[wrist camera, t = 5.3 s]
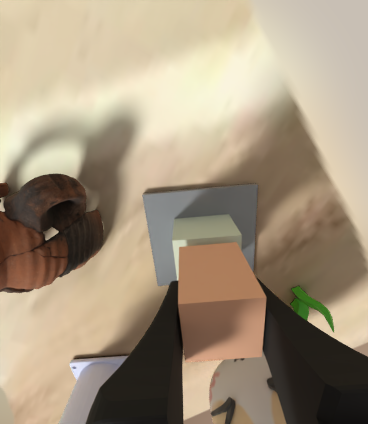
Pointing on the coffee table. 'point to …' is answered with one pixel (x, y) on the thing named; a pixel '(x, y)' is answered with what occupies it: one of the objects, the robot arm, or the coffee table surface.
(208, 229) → the brick
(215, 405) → the kitten
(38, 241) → the brown ring with handle
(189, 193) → the plate
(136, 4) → the coffee table surface
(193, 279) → the brick
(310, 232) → the coffee table surface
